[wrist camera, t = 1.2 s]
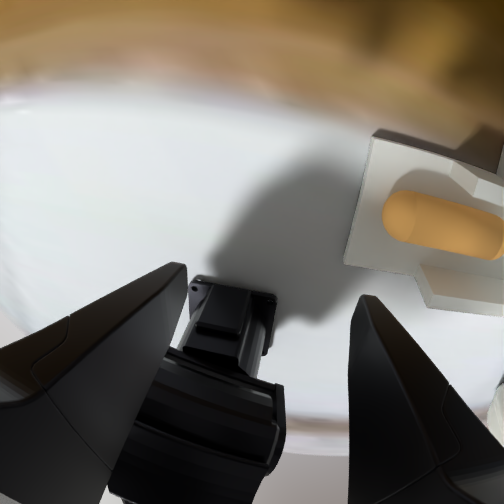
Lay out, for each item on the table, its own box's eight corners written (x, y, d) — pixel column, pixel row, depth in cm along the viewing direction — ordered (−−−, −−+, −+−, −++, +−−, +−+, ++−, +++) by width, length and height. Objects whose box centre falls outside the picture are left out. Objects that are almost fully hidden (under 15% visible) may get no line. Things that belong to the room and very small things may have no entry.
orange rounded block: (487, 248, 16) (505, 272, 14) (372, 223, 17) (381, 247, 15) (502, 211, 15) (523, 232, 12) (383, 178, 16) (396, 196, 13)
